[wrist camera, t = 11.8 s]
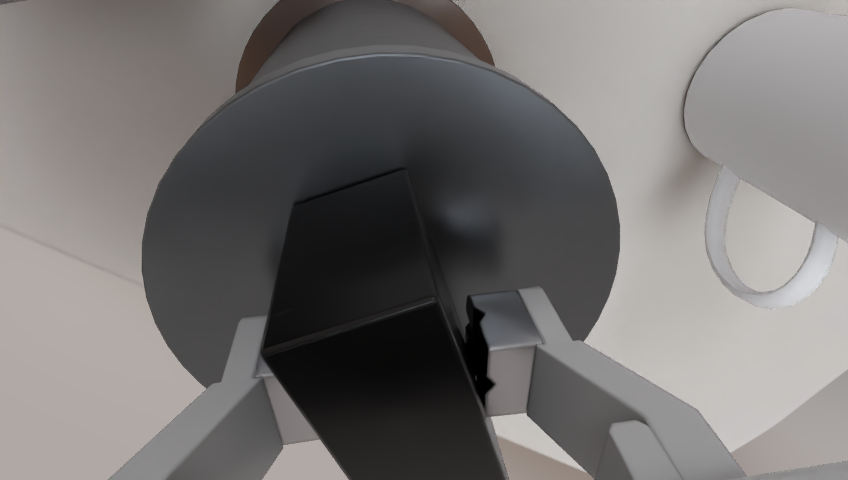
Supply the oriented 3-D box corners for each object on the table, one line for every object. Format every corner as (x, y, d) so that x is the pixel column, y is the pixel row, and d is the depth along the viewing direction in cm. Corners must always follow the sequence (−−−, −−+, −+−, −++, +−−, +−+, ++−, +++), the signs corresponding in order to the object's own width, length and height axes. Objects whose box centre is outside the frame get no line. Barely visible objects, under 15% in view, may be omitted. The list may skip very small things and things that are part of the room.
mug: (769, -28, 22) (1050, -7, 13) (856, 59, 25) (1135, 123, 16) (598, 185, 27) (719, 303, 18) (688, 236, 30) (830, 360, 21)
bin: (310, 247, 25) (257, 654, 11) (200, 41, 19) (-240, 330, 5) (506, 183, 24) (724, 519, 10) (455, -49, 18) (799, -23, 4)
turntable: (374, 255, 27) (375, 270, 26) (186, 109, 22) (176, 119, 20) (539, 111, 24) (549, 120, 23) (368, -106, 18) (370, -110, 17)
